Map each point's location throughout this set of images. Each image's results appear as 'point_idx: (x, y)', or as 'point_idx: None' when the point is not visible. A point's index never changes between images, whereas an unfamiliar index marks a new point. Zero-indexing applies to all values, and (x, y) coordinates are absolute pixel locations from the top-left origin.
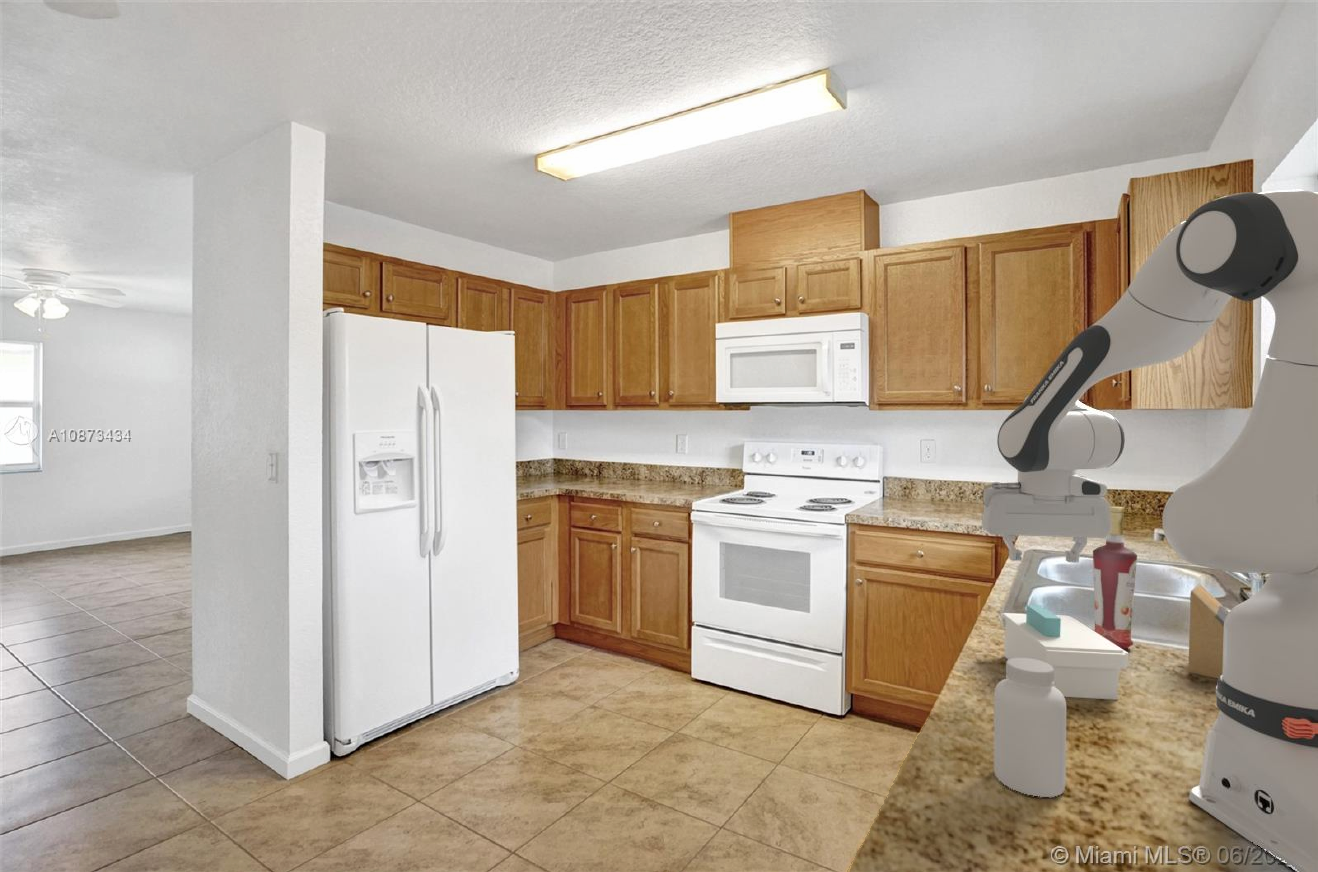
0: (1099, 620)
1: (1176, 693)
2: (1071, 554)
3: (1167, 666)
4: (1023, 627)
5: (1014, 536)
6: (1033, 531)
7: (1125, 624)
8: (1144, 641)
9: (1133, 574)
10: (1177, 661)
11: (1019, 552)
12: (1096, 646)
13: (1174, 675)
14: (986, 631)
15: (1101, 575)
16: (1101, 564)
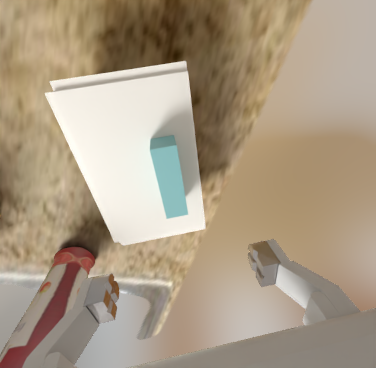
0: (81, 273)
1: (14, 137)
2: (101, 296)
3: (23, 220)
4: (195, 171)
5: (329, 314)
6: (277, 361)
7: (52, 271)
8: (44, 277)
9: (3, 349)
10: (13, 237)
11: (267, 261)
12: (97, 102)
13: (16, 196)
14: (192, 252)
15: None
16: None
